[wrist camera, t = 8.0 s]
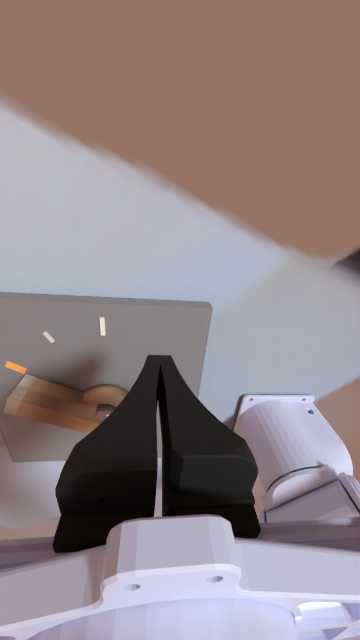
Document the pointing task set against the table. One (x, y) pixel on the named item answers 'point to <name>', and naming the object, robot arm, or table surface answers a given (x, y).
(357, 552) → the robot arm
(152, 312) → the dial plate
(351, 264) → the table surface
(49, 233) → the table surface
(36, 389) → the dial
